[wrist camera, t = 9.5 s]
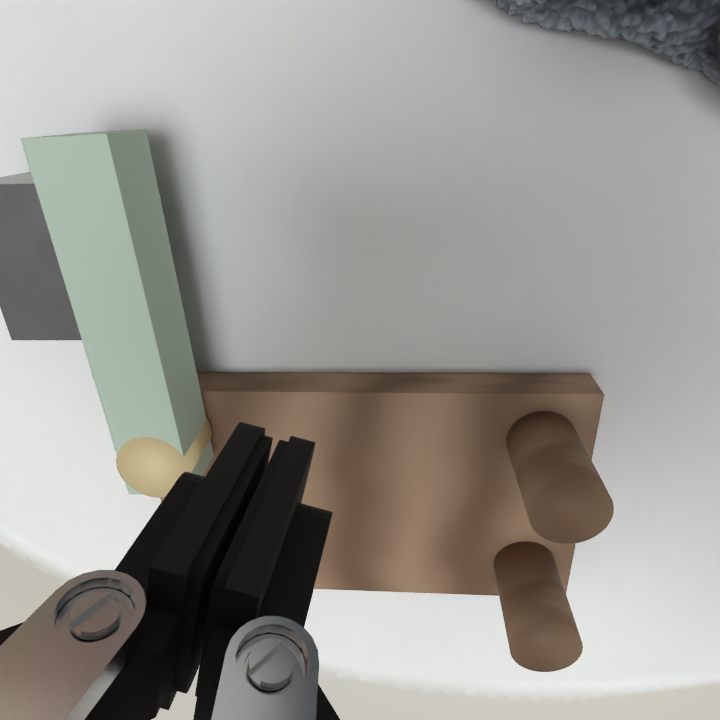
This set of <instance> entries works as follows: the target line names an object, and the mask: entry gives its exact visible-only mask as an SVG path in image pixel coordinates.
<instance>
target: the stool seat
mask: <svg viewBox="0 0 720 720" xmlns="http://www.w3.org/2000/svg"><path fill="white" fill-rule="evenodd" d="M197 376H198V381H199V386H200V391H201V395H202V400H203V405H204V410H205V415H206V418H207V419H208V421H209V423H210V426H211V430H212V436H211V443H212V448H213V453H214V456H213V457H212V459H211V461H210V463H209V465H208V467H207V469H206V471H205V472H204V474H203V476H204V477H205V476H206V475H207V473H208V471H209V470H210V468H211V467H212V465H213V463H214V462H215V460H216V459H217V457H218V455H219V454H220V452H221V450H222V449H223V447H224V446H225V444H226V442H227V441H228V439H229V438H230V436H231V434H232V433H233V431H234V430H235V428H236V426H237V425H238V423H239V422H244V423H247V424H251V425H255V426H258V427H262V428H265V436H269V437H272V438H273V441H272V446H271V451H270V456H269V461H270V459H271V457H272V454H273V452H274V450H275V448H276V446H277V444H278V442H279V440H284V441H287V442H288V441H289V439H290V437H291V436H295V437H298V438H302V439H306V440H309V441H313V442H316V443H315V448H314V453H313V457H312V461H311V465H310V469H309V473H308V477H307V482H306V486H305V490H304V494H303V498H302V502H301V503H302V504H305V505H309V506H313V507H316V508H320V509H324V510H327V511H331V512H333V514H332V518H331V522H330V526H329V530H328V534H327V538H326V542H325V546H324V550H323V553H322V557H321V561H320V565H319V569H318V573H317V577H316V581H315V585H314V589H336V590H363V591H390V592H417V593H444V594H471V595H498V596H500V601H501V606H502V612H503V617H504V622H505V627H506V632H507V637H508V642H509V647H510V653H511V656H512V658H513V659H514V660H515V662H517V663H518V664H519V665H521V666H522V667H524V668H527V669H529V670H533V671H540V672H550V671H556V670H560V669H563V668H566V667H568V666H570V665H571V664H573V663H574V662H575V661H576V660H577V659H578V658H579V657H580V655H581V653H582V649H583V646H582V642H581V639H580V636H579V632H578V629H577V626H576V623H575V620H574V617H573V614H572V611H571V608H570V605H569V602H568V599H567V596H566V590H567V585H568V580H569V575H570V569H571V564H572V559H573V554H574V549H575V543H578V542H582V541H586V540H588V539H591V538H593V537H594V536H596V535H598V534H599V533H600V532H602V531H603V530H604V529H605V528H606V527H607V525H608V524H609V522H610V521H611V519H612V516H613V510H614V508H613V502H612V499H611V497H610V495H609V493H608V491H607V489H606V487H605V486H604V484H603V482H602V480H601V478H600V476H599V474H598V472H597V470H596V468H595V467H594V465H593V463H592V461H591V460H592V454H593V449H594V444H595V439H596V434H597V428H598V423H599V418H600V413H601V407H602V402H603V397H604V394H603V392H602V391H601V389H600V388H599V386H598V385H597V383H596V382H595V381H594V379H593V378H592V376H591V375H590V374H481V373H249V372H197ZM268 463H269V462H268ZM160 498H161V502H162V501H163V500H164V498H165V497H160Z"/></svg>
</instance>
